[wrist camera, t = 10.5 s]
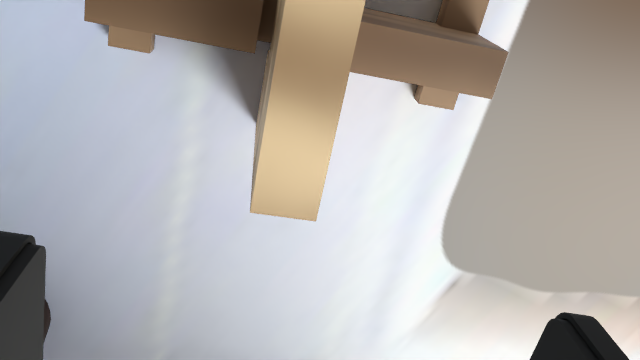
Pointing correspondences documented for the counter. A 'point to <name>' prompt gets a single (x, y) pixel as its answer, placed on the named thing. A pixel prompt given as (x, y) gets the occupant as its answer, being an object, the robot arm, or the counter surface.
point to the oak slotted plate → (302, 103)
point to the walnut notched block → (370, 50)
